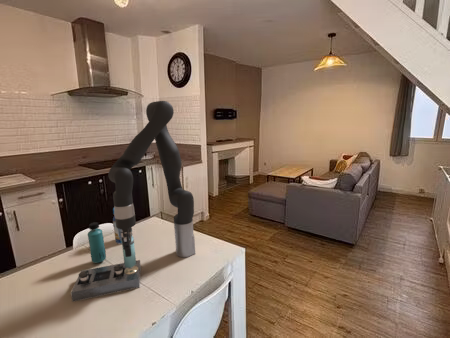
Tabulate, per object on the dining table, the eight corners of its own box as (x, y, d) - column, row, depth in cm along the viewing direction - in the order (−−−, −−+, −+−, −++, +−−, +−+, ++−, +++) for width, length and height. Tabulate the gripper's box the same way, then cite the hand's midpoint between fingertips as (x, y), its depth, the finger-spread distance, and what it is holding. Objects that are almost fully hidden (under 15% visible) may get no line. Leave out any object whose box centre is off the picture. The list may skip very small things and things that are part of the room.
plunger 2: (124, 273, 103) (123, 263, 102) (123, 278, 100) (122, 268, 99) (115, 275, 102) (114, 265, 101) (114, 280, 99) (113, 270, 98)
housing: (140, 267, 110) (139, 259, 109) (139, 287, 97) (138, 278, 96) (82, 279, 103) (80, 270, 102) (72, 301, 90) (70, 291, 89)
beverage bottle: (100, 266, 112) (94, 226, 108) (88, 265, 113) (82, 226, 109) (109, 258, 118) (104, 221, 114) (98, 257, 120) (92, 220, 116)
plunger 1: (91, 280, 99) (89, 269, 98) (89, 285, 96) (87, 275, 95) (81, 282, 98) (79, 271, 97) (79, 287, 95) (77, 276, 94)
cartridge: (136, 260, 104) (133, 235, 102) (136, 266, 100) (133, 240, 97) (125, 262, 103) (122, 236, 100) (123, 268, 98) (120, 241, 96)
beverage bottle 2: (127, 244, 132) (123, 210, 128) (112, 244, 132) (108, 210, 128) (133, 237, 140) (129, 204, 136) (119, 237, 140) (115, 205, 137)
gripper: (133, 220, 91) (137, 260, 95) (135, 207, 105) (139, 243, 108) (112, 223, 89) (117, 264, 92) (117, 210, 103) (121, 246, 106)
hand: (129, 252), depth 100 cm, fingers closed on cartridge, 4 cm apart
